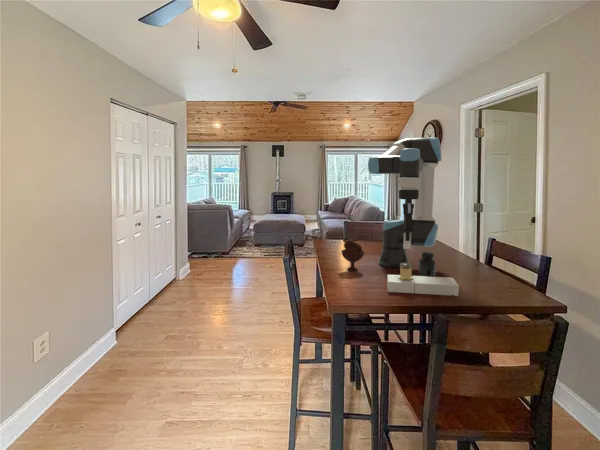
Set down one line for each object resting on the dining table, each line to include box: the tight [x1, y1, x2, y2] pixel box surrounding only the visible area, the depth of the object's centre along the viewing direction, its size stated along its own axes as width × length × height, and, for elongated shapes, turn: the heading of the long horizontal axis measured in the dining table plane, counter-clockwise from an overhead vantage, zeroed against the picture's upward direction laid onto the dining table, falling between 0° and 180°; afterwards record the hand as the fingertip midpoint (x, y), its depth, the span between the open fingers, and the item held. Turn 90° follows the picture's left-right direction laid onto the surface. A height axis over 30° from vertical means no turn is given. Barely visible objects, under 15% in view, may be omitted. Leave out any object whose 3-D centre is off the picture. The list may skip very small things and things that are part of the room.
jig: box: [386, 274, 460, 297], centre depth 150 cm, size 12×26×4 cm, turn 78°
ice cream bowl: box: [340, 239, 365, 272], centre depth 183 cm, size 11×11×15 cm
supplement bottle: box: [418, 251, 437, 277], centre depth 164 cm, size 7×7×12 cm
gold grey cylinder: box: [399, 263, 413, 281], centre depth 151 cm, size 5×5×10 cm
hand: (406, 248), depth 150 cm, fingers closed
